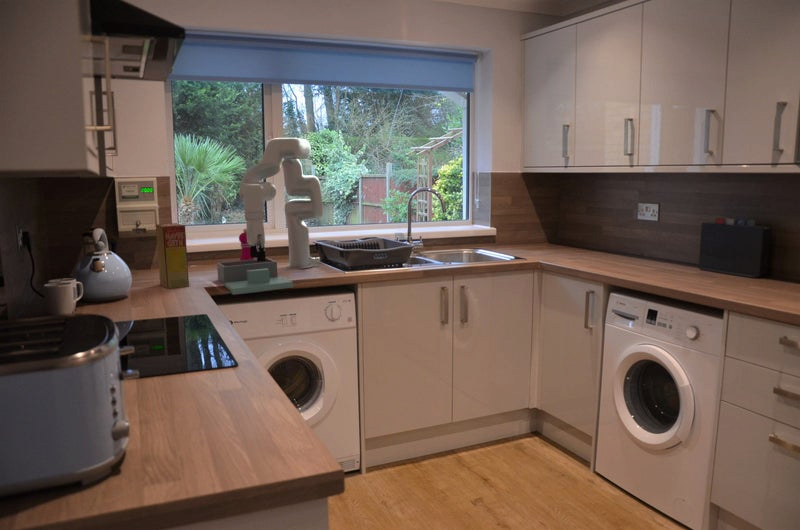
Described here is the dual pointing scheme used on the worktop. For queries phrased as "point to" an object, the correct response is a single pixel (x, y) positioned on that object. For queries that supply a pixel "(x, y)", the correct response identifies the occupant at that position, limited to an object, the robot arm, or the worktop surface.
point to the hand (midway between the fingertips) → (258, 259)
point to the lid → (258, 282)
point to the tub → (244, 269)
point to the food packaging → (172, 255)
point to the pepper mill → (245, 246)
